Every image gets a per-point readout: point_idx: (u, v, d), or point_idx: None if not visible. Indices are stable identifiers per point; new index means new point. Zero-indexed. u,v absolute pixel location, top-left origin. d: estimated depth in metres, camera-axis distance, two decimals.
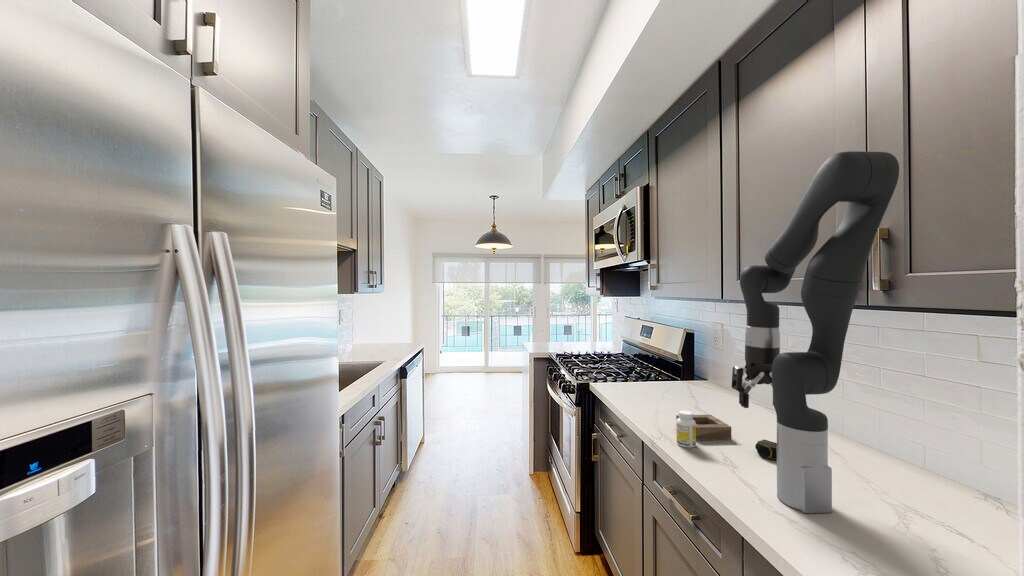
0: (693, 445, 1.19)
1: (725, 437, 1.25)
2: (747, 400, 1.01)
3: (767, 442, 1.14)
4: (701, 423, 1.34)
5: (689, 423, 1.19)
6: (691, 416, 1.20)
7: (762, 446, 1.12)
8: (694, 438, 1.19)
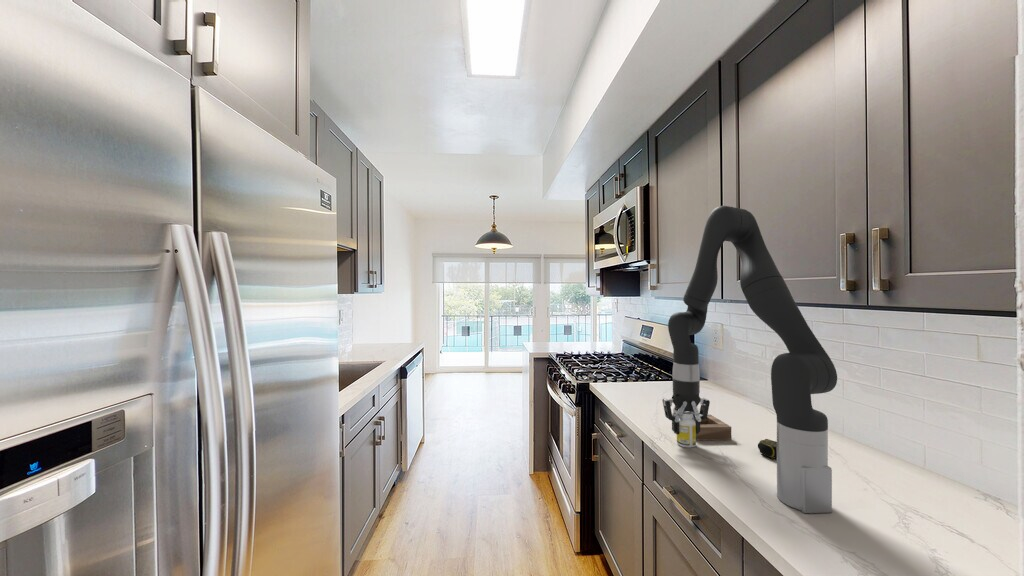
0: (693, 445, 1.19)
1: (725, 437, 1.25)
2: (677, 427, 1.20)
3: (769, 441, 1.14)
4: (701, 423, 1.34)
5: (689, 423, 1.19)
6: (691, 416, 1.20)
7: (764, 446, 1.12)
8: (694, 438, 1.19)
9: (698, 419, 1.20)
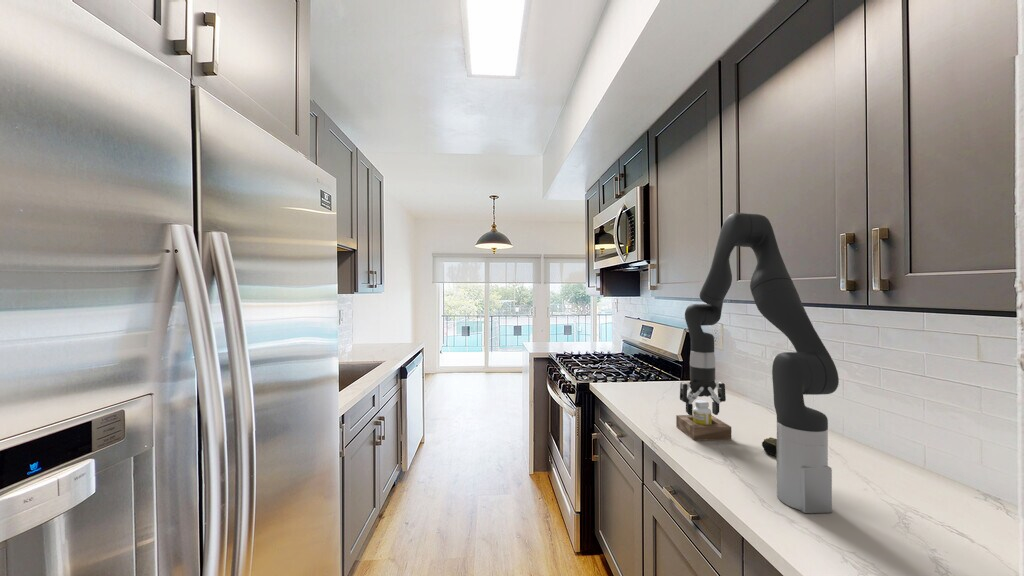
0: None
1: (725, 437, 1.25)
2: (691, 409, 1.29)
3: (774, 440, 1.16)
4: None
5: (706, 411, 1.28)
6: (707, 405, 1.29)
7: (769, 444, 1.13)
8: None
9: (717, 401, 1.30)
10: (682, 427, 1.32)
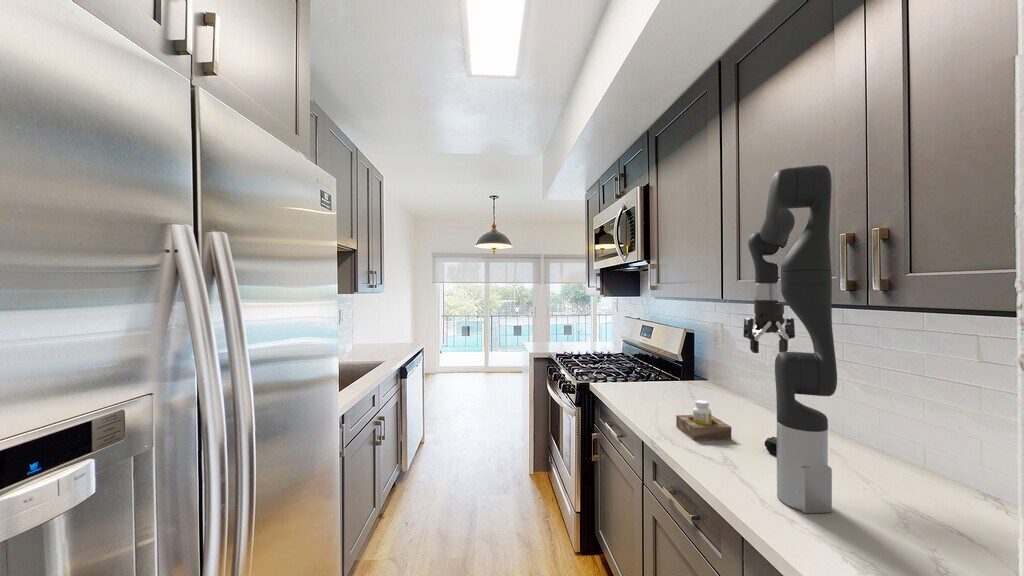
0: None
1: (725, 437, 1.25)
2: (757, 346, 1.18)
3: (776, 439, 1.16)
4: None
5: (706, 411, 1.28)
6: (707, 405, 1.29)
7: (771, 443, 1.14)
8: None
9: (786, 338, 1.18)
10: (682, 427, 1.32)
